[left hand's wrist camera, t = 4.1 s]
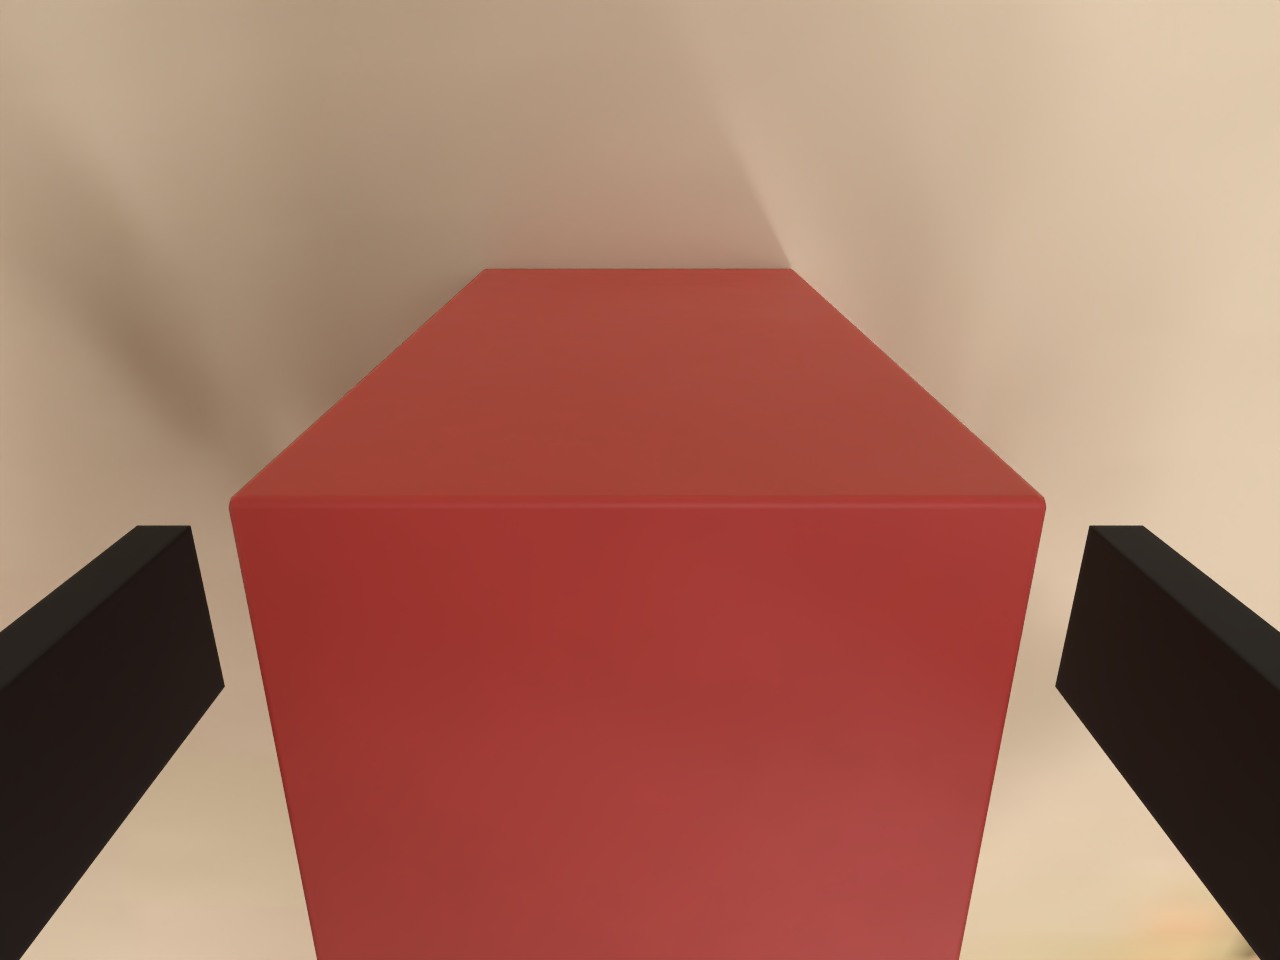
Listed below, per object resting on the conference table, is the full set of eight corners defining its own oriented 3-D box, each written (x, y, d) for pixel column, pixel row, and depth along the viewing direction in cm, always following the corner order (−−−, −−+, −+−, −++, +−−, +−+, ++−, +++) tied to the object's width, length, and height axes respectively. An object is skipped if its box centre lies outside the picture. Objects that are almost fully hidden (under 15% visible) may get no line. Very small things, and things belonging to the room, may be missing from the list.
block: (482, 268, 15) (222, 500, 6) (793, 268, 15) (1053, 498, 6) (510, 679, 18) (374, 1263, 9) (766, 679, 18) (902, 1263, 9)
